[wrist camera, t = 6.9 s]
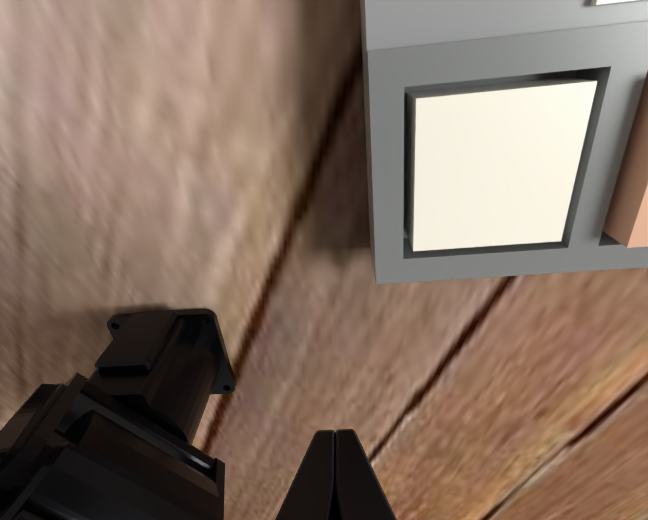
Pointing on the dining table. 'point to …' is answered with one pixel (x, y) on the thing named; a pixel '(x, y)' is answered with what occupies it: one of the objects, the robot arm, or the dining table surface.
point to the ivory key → (493, 162)
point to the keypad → (494, 68)
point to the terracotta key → (632, 184)
